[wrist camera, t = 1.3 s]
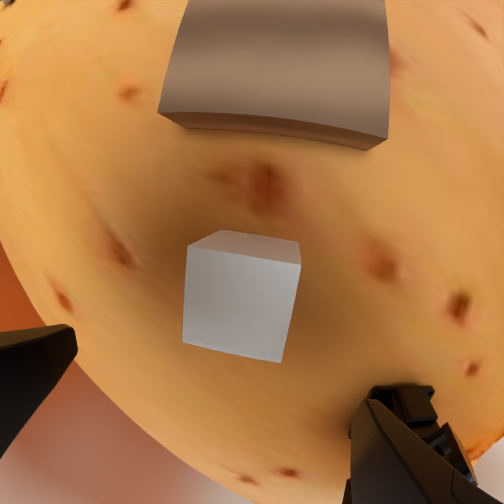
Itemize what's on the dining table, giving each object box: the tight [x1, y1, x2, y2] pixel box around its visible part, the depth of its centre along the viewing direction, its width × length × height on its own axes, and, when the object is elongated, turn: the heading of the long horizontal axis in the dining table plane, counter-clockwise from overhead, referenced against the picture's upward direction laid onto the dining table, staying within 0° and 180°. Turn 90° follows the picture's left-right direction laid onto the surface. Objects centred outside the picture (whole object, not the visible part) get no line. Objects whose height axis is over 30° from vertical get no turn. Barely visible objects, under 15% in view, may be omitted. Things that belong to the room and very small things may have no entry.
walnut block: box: [158, 0, 390, 151], centre depth 13 cm, size 12×12×4 cm
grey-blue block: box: [182, 229, 302, 363], centre depth 15 cm, size 5×5×6 cm
